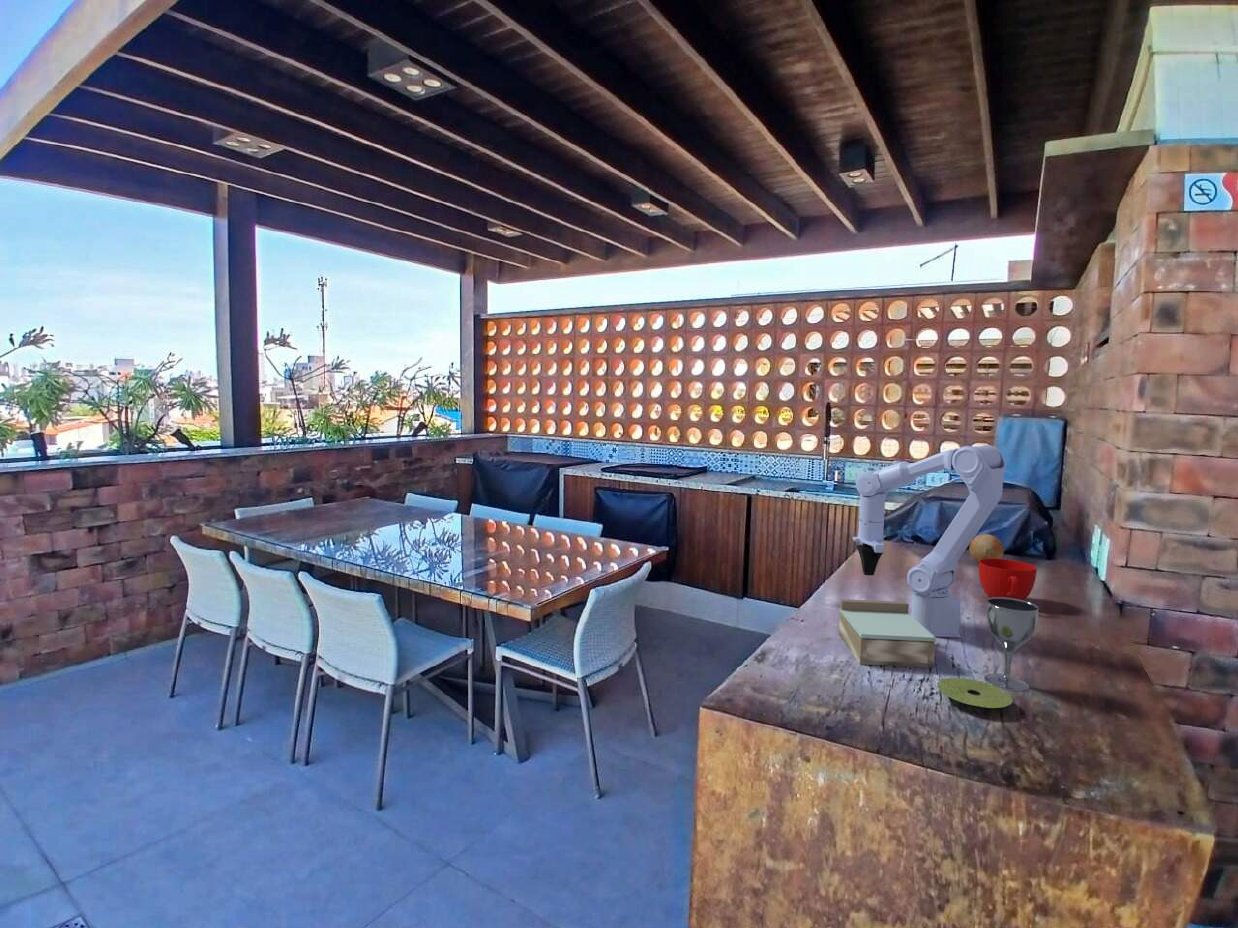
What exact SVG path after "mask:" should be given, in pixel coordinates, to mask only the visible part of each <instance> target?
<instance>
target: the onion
mask: <svg viewBox="0 0 1238 928" xmlns="http://www.w3.org/2000/svg"><path fill="white" fill-rule="evenodd" d="M968 547H969V549H968V550H969V555H970V557H971V558H972V559H973V561H975V562H976V561H978V562H979V561H980V560H982V559H1003V556H1004V552H1005V551H1004V546H1003V543H1002V542H1001V540H1000V539H999V538H998V537H996V536H995V535H993V534H990V533H989V534H987V533H982V534H981V533H980V534H978V535H977V536H975V537H974V538H973V539H972V541H971V542H970V544H969V545H968ZM978 562H977V563H978Z"/></svg>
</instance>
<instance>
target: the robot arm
mask: <svg viewBox="0 0 1238 928" xmlns="http://www.w3.org/2000/svg"><path fill="white" fill-rule="evenodd" d="M1007 466H1008V465H1007V462H1006V460H1005V458H1004V456H1003V454H1002V452H1001V451H1000V449H999V448H998V447H996V446H994V445H991V444H985V445H980V446H979V445H978V446H972V445H971V446H970V445H964V446H961V447H959V448H952V449H947V450H943V451H941V452H939V453H937V454H934V455H931V456H929V457H926V458H923V459H921V460H918V461H916V462H912V463H910V462H908V461H905V460H902V461H901V460H893V461H892V464H890V465H889V466H885V467H876V468H875V471H873V472H870V471H864V472H862V473H861V474H860V475H858V476H857V478H856V481H855V489H856V490H857V492H858V493H859V508H858V509H859V511H858V512H859V513H858V532H857V536H853V537H852V540H853V541H854V542H859V543H862V544H856V545H855V547H856V549H857V552H858V554H859V557H860V562H861V568H862V572H863V575H864V576H874V575H875V573H876V568H877V566H878V563H879V560H880V559H881V557H882V555H883V554H884V553H885V544H884V542H885V539H884V530H885V528H884V527H885V510H886V509H885V507H886V500H887V494H888V493H889V492H891V491H895V490H897V489H901V488H904V487H907V486H911V485H913V484H914V483H915V481H916V479H917V478H918V477H920V476H921V477H922V476H924V475H928V474H932V473H935V472H939V471H942V470H949V471H955V472H956V474H957V475H958V476H959V478H961V480H962V481H963V483H964V484H965V485H966V487H967V489H968V492H969V495H968V496H967V498H966V499H965V501H964V503H963V504H962V506H961V507H960V508H959V510H958V512H957V513H956V515H955V516H954V518H953V519H952V520H951V523H949V525H948V527H947V529H946V530H945V531H944V533H943V534H942V536H941V537H940V539H939V540H938V542H937V543H936V545H935V546H934V548H933V549H932V550H931V552H929V553H928V554H927V555H926V556H924V557H923V558H922V559H921V560H920V561H919V563H918V564H916V565H915V566H913V567H911V568H910V569H909V570H908V572H907V575H906V579H907V580H906V581H907V584H908V586H909V587H910V589H911V590H912V591H911V593H912V597H911V609H910V610H911V612H910V615H911V616H912V617H913V618H914V619H915V620H916V621H918V622H919V623H920V624H921V625H922V626H923V627H924V628H925V629H927V630H928V631H929V632H930V633H931V634H932V635H933V636H934V637H936V638H937V637H939V638H940V637H943V638H961V634H960V622H961V621H960V620H961V604H960V599H959V597H958V596H957V595H956V594H955V593H949V588H951V586H953V584H954V582H955V580H956V573H957V571H958V569H959V567H960V566H959V564H958V561H959V560H960V558H961V557H962V555H963V554H964V552H965V551H966V549H968V547H969V546H970V543H971V541H972V540H973V539H974V538H975V537H976V535H977V534H978V532H979V531H980V529H981V528H982V526H983V525H984V524H985V522H986V521H987V519H988V518H989V516H990V515H991V513H992V512H993V511H994V509H995V508H996V506H997V505H998V503H999V502H1000V500H1001V499H1002V496H1003V488H1004V487H1003V486H1004V473H1005V470H1006V468H1007Z"/></svg>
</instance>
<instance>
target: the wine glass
mask: <svg viewBox="0 0 1238 928" xmlns="http://www.w3.org/2000/svg"><path fill="white" fill-rule="evenodd" d="M1038 618H1039V606H1038V605H1037V604H1034V603H1032V602H1030V601H1027V600H1019V599H1014V598H1006V597H992V598H989V597H988V598H987V600H986V620H987V625H988V629H989V632H990V633H991V634H992V635H993V637H994V638H995V639H996V641H997V642H998V643H999V644H1000V646H1001V648H1002V649H1003V653H1004V661H1005V662H1004V665H1005V666H1004V674H1002V673H989V674H986V675H985V676H984V681H985V682H986V683H987V684H991V685H994V686H996V687H998V688H1000V689H1002V690H1007V691H1014V692H1025V691H1029V690H1030V685H1029V683H1027V682H1026V681H1024V680H1023V679H1021V678H1018V677H1015V676H1011V665H1012V659H1013V655H1014V654H1015V652H1016V651H1017V649H1019V648H1020V647H1021V646H1023V645H1024V644H1026V643H1027V642H1028V641H1029V640H1031V638H1032V637H1033V635H1034V633H1035V630H1036V627H1037V624H1038Z"/></svg>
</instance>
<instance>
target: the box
mask: <svg viewBox="0 0 1238 928" xmlns="http://www.w3.org/2000/svg"><path fill="white" fill-rule="evenodd" d="M838 625H839V626H838V635H839V637H840V638H841V640H842V641H843V642H844V644H845V645H846V647H848V648H847V649H848V650H849V651H850V652H851V653H852V655H853V656H854V658H855V660H856V661H857V662H858V663H859V665H873V666H874V665H875V666H891V667H892V666H893V667H894V666H895V667H911V668H914V667H915V668H930V669H932V668H935V653H936V652H935V650H936V641H935V642H933V641H912V640H891V639H870V638H861V637H860V636H859V635H858V633H857V632H856V631H855V630H854V628H853V627H852V626H851V625H850V623H849V622H848V621H847V620H846V618H845V617H844V616H843V614H842V613H841V612H839V624H838Z"/></svg>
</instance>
